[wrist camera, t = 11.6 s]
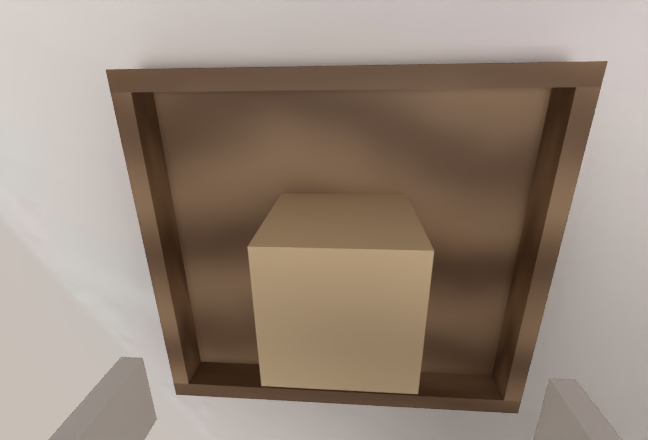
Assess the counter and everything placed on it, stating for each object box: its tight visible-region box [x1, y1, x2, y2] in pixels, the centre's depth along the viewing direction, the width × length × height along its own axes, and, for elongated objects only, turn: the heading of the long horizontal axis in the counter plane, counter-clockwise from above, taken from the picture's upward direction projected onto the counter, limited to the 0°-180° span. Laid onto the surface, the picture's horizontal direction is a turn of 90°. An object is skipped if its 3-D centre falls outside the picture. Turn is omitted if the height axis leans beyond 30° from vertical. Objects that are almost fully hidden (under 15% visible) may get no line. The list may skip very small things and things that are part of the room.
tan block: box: [247, 193, 434, 394], centre depth 18 cm, size 7×7×7 cm
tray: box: [106, 61, 607, 413], centre depth 21 cm, size 20×22×3 cm
